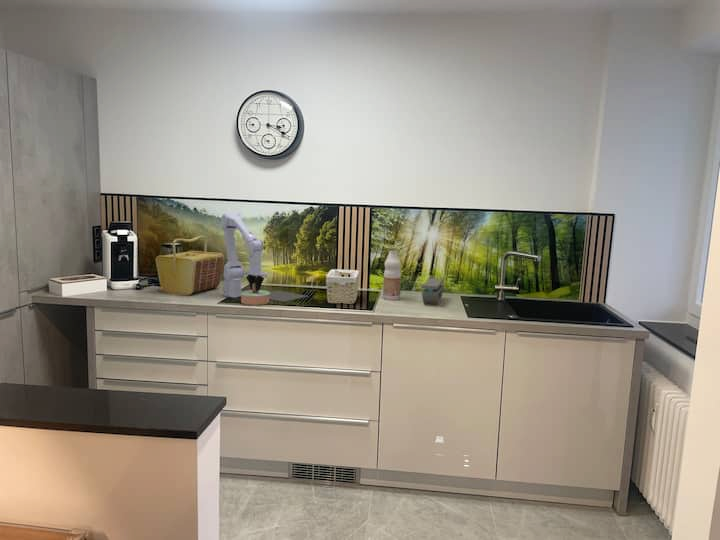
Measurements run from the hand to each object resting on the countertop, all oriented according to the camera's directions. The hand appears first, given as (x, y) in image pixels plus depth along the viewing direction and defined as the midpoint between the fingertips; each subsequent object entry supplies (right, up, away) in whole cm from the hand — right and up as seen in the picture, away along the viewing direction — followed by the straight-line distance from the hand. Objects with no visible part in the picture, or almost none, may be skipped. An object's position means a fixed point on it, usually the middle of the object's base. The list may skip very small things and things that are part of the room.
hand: (255, 290), depth 295 cm
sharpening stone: (+93, -7, +16) cm, 94 cm away
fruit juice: (+71, -6, +21) cm, 74 cm away
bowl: (0, -6, +1) cm, 6 cm away
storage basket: (+44, -6, +15) cm, 47 cm away
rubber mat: (+11, -4, +16) cm, 20 cm away
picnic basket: (-41, -1, +27) cm, 49 cm away
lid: (0, -2, 0) cm, 2 cm away
